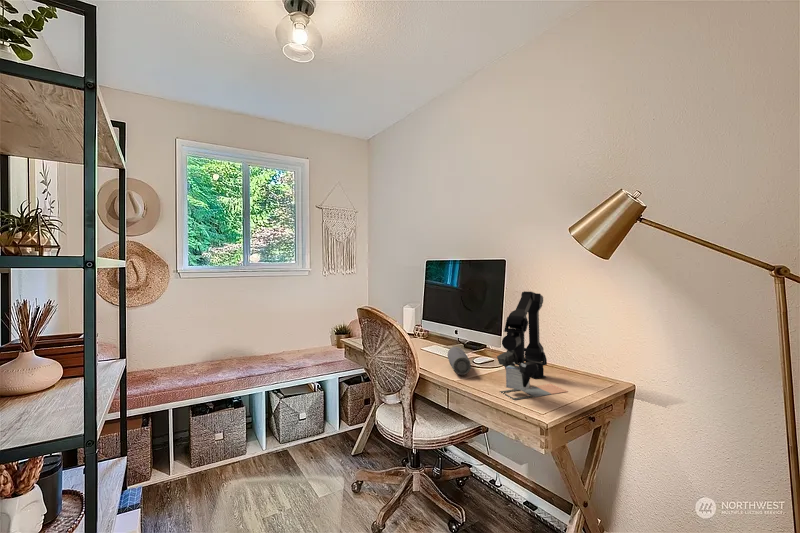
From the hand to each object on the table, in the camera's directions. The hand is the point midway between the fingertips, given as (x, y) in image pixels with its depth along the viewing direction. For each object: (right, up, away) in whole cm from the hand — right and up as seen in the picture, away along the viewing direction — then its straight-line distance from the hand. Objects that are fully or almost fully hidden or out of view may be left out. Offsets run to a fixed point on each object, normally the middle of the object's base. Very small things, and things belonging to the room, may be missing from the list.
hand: (517, 383), depth 156 cm
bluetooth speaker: (-19, -4, +35) cm, 40 cm away
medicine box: (0, -2, 0) cm, 2 cm away
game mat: (+8, -4, +3) cm, 10 cm away
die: (+5, -5, +11) cm, 13 cm away
